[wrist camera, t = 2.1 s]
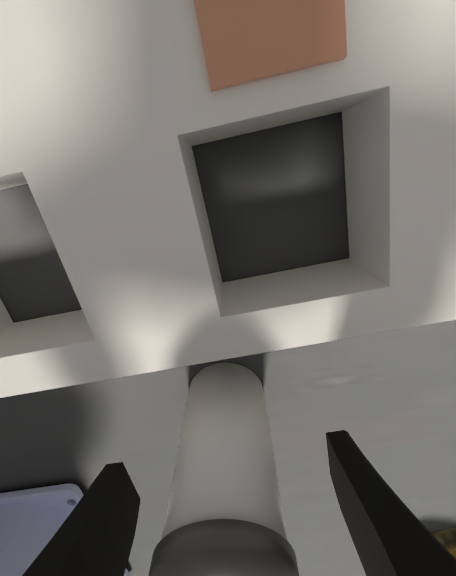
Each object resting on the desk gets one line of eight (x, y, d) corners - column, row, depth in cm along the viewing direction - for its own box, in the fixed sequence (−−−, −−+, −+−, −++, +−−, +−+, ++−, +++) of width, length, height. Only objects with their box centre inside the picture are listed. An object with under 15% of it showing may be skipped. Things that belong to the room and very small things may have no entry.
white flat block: (427, 279, 12) (497, 316, 9) (-33, 363, 13) (-111, 420, 10) (447, -111, 8) (592, -298, 5) (-219, 74, 9) (-439, 26, 6)
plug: (271, 417, 14) (308, 625, 8) (196, 429, 14) (170, 639, 8) (259, 353, 13) (291, 539, 6) (176, 367, 13) (125, 559, 7)
